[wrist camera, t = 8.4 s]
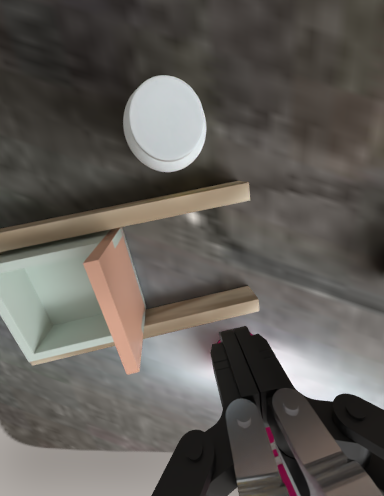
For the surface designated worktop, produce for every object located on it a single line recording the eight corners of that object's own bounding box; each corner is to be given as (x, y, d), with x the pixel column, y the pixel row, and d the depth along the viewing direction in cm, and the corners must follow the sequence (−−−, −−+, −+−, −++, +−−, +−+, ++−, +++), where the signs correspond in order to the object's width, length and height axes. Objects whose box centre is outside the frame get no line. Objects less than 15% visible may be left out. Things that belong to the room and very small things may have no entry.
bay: (-16, 231, 21) (-43, 241, 18) (237, 180, 23) (248, 182, 20) (45, 344, 26) (32, 365, 23) (249, 296, 28) (259, 310, 25)
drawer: (11, 248, 22) (-83, 298, 13) (121, 225, 22) (98, 259, 14) (52, 327, 25) (-2, 406, 17) (146, 306, 26) (139, 371, 18)
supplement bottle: (127, 112, 19) (99, 63, 10) (187, 102, 20) (209, 47, 11) (142, 175, 21) (130, 181, 12) (196, 165, 22) (222, 163, 13)
